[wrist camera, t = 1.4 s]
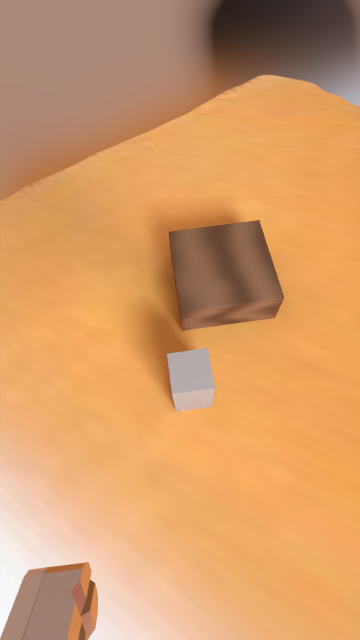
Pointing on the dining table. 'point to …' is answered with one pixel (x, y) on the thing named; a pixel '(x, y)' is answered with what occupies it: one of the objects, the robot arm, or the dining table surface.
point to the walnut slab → (224, 275)
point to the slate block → (191, 379)
